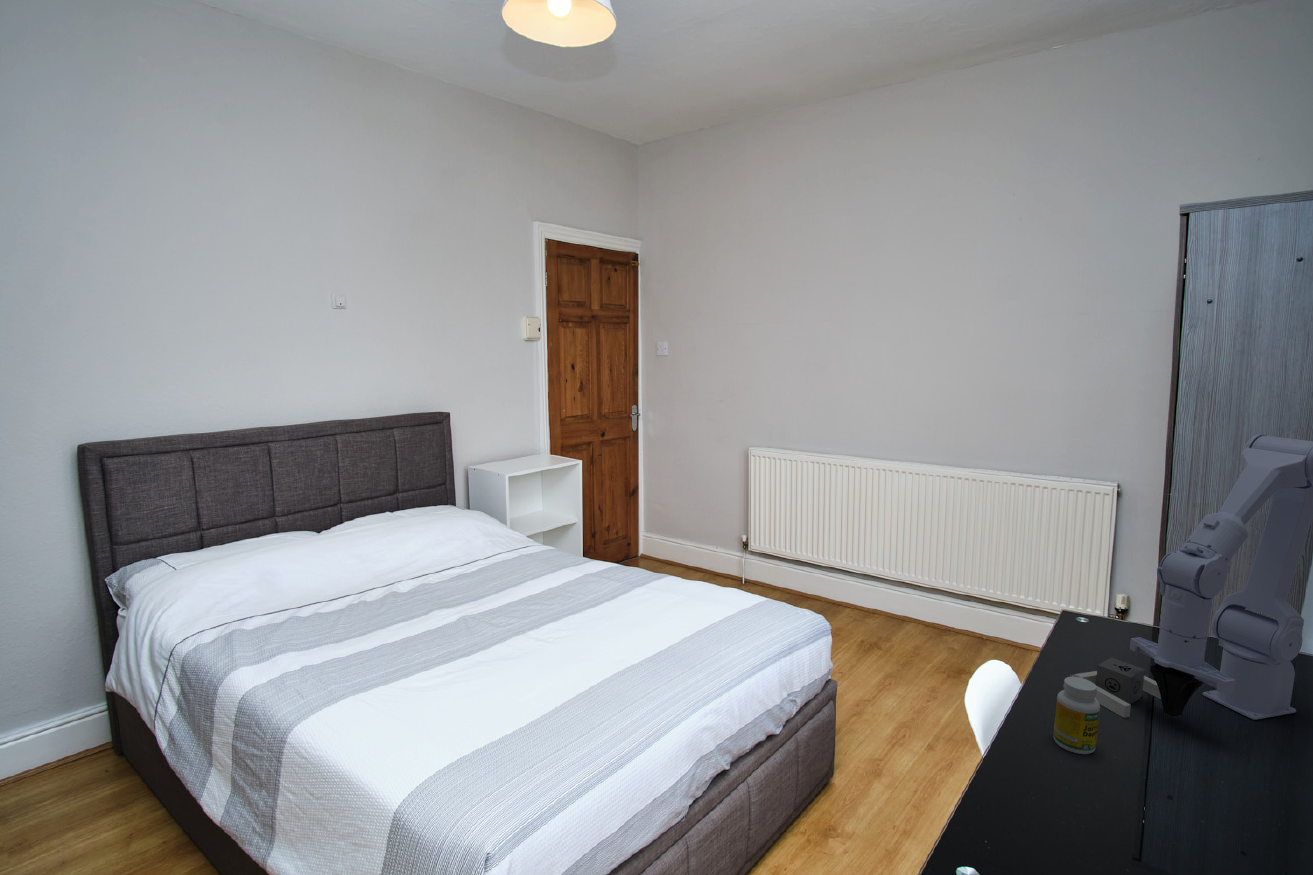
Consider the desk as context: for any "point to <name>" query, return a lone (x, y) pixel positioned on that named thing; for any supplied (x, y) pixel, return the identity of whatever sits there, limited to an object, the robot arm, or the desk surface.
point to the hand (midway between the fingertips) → (1172, 713)
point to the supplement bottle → (1077, 716)
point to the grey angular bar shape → (1113, 701)
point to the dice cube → (1120, 679)
